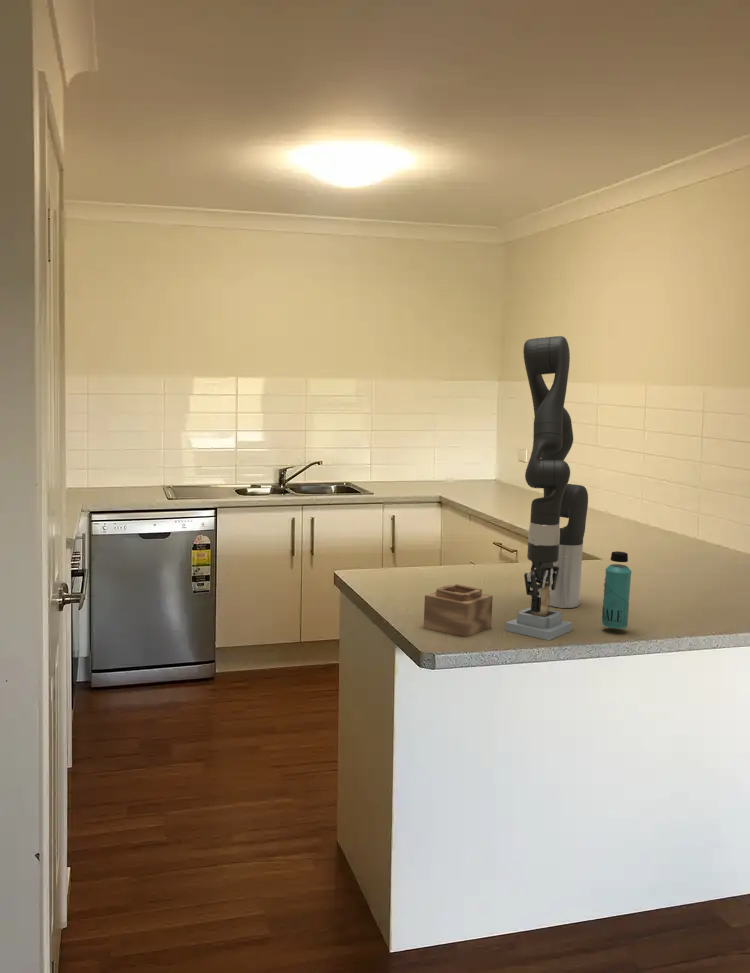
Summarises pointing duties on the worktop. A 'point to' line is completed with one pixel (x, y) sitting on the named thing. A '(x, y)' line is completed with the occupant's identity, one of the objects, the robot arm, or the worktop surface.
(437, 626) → the walnut dock
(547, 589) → the birch peg
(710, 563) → the worktop surface
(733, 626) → the worktop surface
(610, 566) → the beverage bottle
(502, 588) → the worktop surface
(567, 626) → the slate dock
